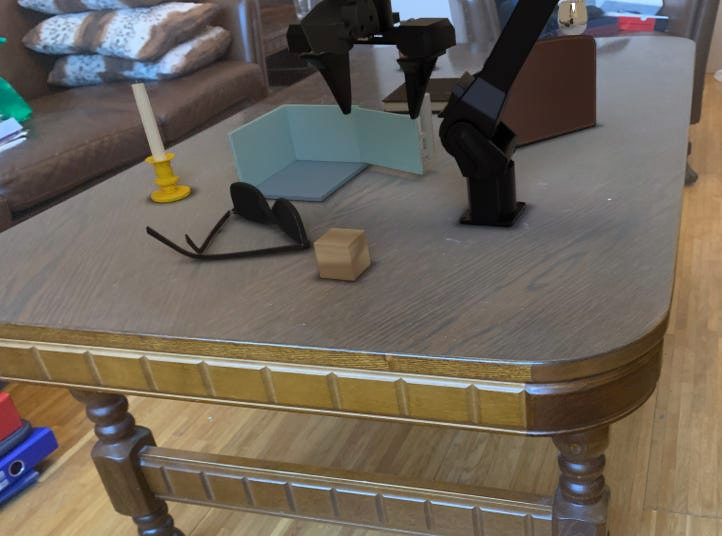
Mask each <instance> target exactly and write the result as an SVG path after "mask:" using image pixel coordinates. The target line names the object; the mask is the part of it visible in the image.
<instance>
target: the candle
mask: <svg viewBox="0 0 722 536" xmlns="http://www.w3.org/2000/svg"><path fill="white" fill-rule="evenodd" d="M131 88H132V93H133V97H134V99H135V104H136V106H137V109H138V113H139V117H140V119H141V122H142V125H143V126H142V127H143V130H144V132H145V136H146V139H147V142H148V145H149V149H150V152H151V155H150V156H148V157H146V158H145V160H144V161H145V163H149V164H152V166H153V167H154V173H155V174H156V176H157V177H156V178H155V179H154V184H155V185H156V186H159V187H160V188H159V189H157V190H155V191H154V192H152V193H151V195H150V197H151V200H152V201H153V202H155V203H162V204H163V203H171V202H177V201H180V200H182V199H185V198H187V197H189V196H190V195H191V193H192V190H191V188H190V187H189V186H187V185H182V184H181V185H180V184H179V185H177V182H179V181H180V177H179V175H177V174H174V170H173V167H172V165H171V160H173V159H174V158H175V157H176V154H175V153H173V152H166V150H165V146H164V143H163V140H162V137H161V134H160V129H159V127H158V124H157V121H156V118H155V114H154V110H153V109H152V104H151V102H150V99H149V95H148V92H147V89H146V86H145V83H143V82H141V83H138V80H137V79H135V83H133V84H131Z"/></svg>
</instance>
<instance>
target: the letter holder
mask: <svg viewBox="0 0 722 536" xmlns="http://www.w3.org/2000/svg"><path fill="white" fill-rule="evenodd" d="M487 59H488V57H487V58H485V60H484V62H483V66H484V65H485V63H486V61H487ZM483 66H482V67H483ZM480 72H481V70H479V71H477V72H474V73H472V74H471V75H472V76H473V77H474V78H476V77H477V76H478V74H479V73H480ZM501 120H502V121H504V122H505V123H506V124H507V125H508V126H509V127H510V128H511V129H512V130H513V131H514V132H515V133H516V134H518V135H519V141H518V144H517V147H516V148H519V147H522V146H526V145H530V144H534V143H537V142H540V141H544V140H548V139H552V138H555V137H560V136H562V135H566V134H571V133H574V132H577V131H581V130H585V129H588V128H591V127H596V125H597V42H596V39H595V38H594V36H592V35H591V34H580V35H566V36H565V35H557V36H551V37H545V38H538V40H537V42H536V43H535V45H534V47H533V49H532V50H531V52H530V54H529V56H528V58H527V59H526V61H525V63H524V65H523V66H522V68H521V70H520V72H519V73H518V75H517V77H516V79H515V81H514V83H513V86H512V89H511V92H510V96H509V99H508V102H507V105H506V108H505V111H504V114H503V116H502V119H501Z"/></svg>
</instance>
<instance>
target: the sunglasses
mask: <svg viewBox="0 0 722 536" xmlns="http://www.w3.org/2000/svg"><path fill="white" fill-rule="evenodd" d="M229 193H230V198H231V202H232V206H233V207H232V209H229V210H227V211H226V212H225V213H224V214H223V215H222V217H220V219H219V220H218V221H217V222H216V224H215V225H214V226H213V228H212V229H211V230H210V232H209V233H208V235H207V237H206V238H205V239H204V241H203V242H202V245H201V246H200V247H198V246H197V245H196V243H195V242H194V241H193V240H192V238H191V237H190V236H189V235H188V234H187V233H186V234H184V238H185V241H186V244H187V245H188V246H189V247H190V248H191V249H192V250H193V251H194V252H192V251H189V250H186V249H185V248H183V247H180V246H179V245H177V244H176V243H175V242H174V241H171V240H170V239H169V238H168V237H166V236H164V235H162V234H161V233H159V232H158V231H156V230H155V229H154V228H152V227H151V226H150V225H149V226H148V225H147V226H146V227H145V229H146V234H147V235H149V236H151V237H152V238H154V239H156V240H157V241H158V242H161V243H162V244H164V245H165V246H167V247H169V248H171V249H172V250H173V251H174V252H175V251H176V252H177V253H178V254H181V255H183V256H185V257H187V258H191V259H194V260H204V261H205V260H206V261H209V260H211V261H213V260H226V259H237V258H247V257H255V256H256V257H257V256H264V255H272V254H279V253H286V252H293V251H299V250H303V249H306V248H309V247H311V242H310V240H309V238H308V236H307V232H306V228H305V225H304V222H303V220H302V218H301V217H302V216H301V215H300V212H299V211H298V209H297V208H296V206H295V205H294V204H293V203H292V202H291V200H287V199H285V198H278V199H275V201H274V203H273V205H272V206H270V205H269V204H270V203H268V200H267V198H265V197H264V195H263V194H262V193H261V191H260V190H259V189H258V188H256V187H255V186H253V185H251V184H248V183H245V182H239V181H235V182H232V183H231V184H230V186H229ZM232 215H235V216H238V217H240V218H243V219H246V220H249V221H252V222H256V223H263V224H271V225H276V226H277V227H279V228H280V229H281V230H282V231H283V232H284V233H285V234H287V235H288V236H289V237H290V238H291V239H293V240H294V241H295V242H296V243H295V244H288V245H281V246H272V247H266V248H259V249H252V250H243V251H235V252H234V251H233V252H227V253H214V254H213V253H211V254H207V253H204V252H205V250H207V247H208V246H209V244H210V242H211V241H212V240H213V238H214V237H215V235H217V233H218V231H219V230H220V229H221V227H222V226H223V225H224V224H225V222H227V221H228V219H229V218H230V217H231V216H232Z"/></svg>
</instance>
